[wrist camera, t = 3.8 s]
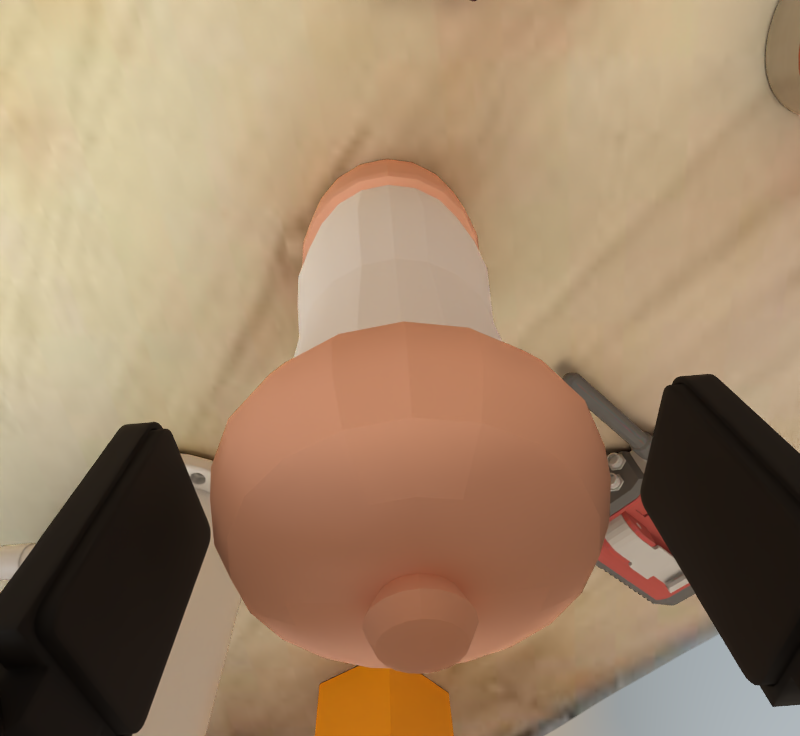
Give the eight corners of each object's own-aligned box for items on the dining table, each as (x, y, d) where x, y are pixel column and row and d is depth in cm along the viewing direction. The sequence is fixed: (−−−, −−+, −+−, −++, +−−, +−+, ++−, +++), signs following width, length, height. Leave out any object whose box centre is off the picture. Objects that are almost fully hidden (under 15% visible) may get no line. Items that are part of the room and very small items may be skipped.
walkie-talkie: (755, 516, 34) (573, 350, 26) (802, 572, 30) (607, 396, 23) (646, 581, 37) (458, 448, 30) (678, 639, 33) (470, 503, 26)
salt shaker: (403, 120, 21) (515, 301, 4) (496, 254, 24) (777, 668, 7) (277, 230, 23) (10, 647, 6) (378, 340, 26) (382, 815, 9)
